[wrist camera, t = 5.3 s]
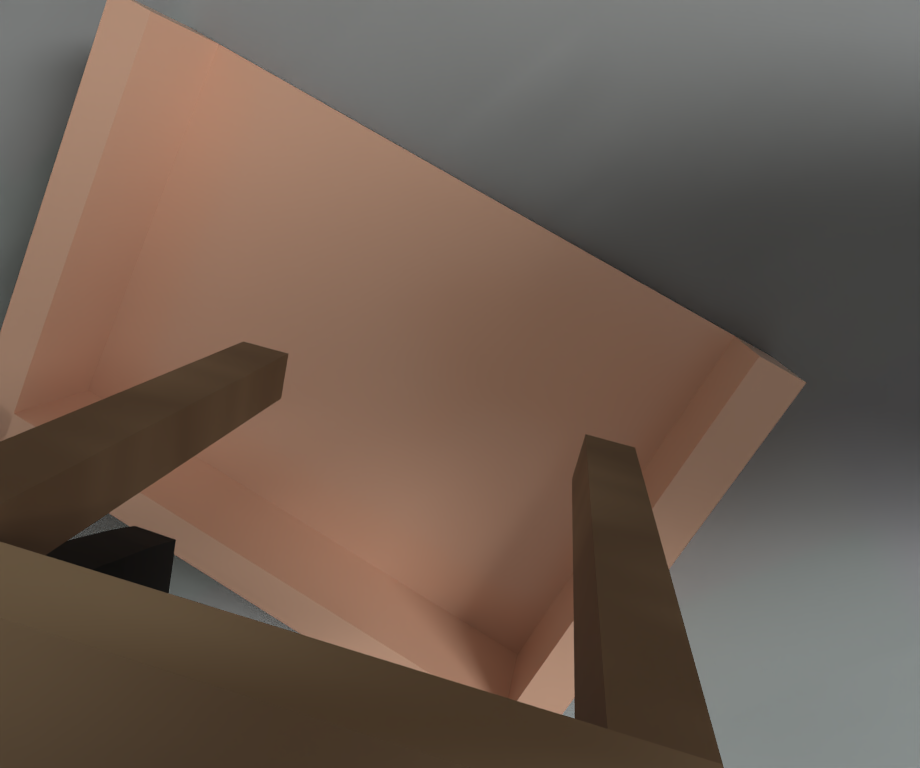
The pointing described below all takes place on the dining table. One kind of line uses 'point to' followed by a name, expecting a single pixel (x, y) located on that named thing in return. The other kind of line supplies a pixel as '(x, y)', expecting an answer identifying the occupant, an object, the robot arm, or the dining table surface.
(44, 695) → the brown stool
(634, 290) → the tray
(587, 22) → the dining table surface
